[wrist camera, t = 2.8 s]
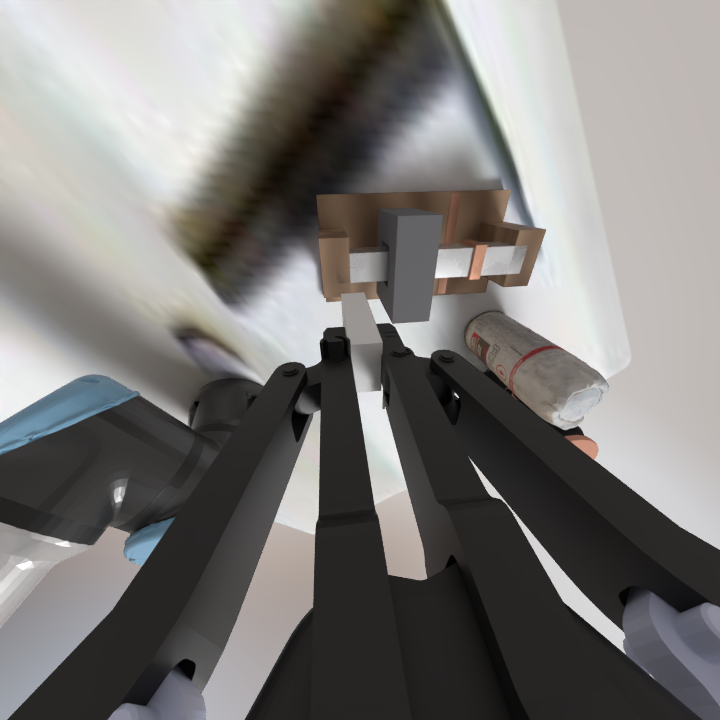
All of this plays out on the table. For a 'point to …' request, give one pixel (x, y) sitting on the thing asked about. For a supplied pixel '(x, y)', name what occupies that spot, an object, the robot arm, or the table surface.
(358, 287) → the pipe stand
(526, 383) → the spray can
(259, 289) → the table surface
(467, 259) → the light grey long bar
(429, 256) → the tall grey notched block
